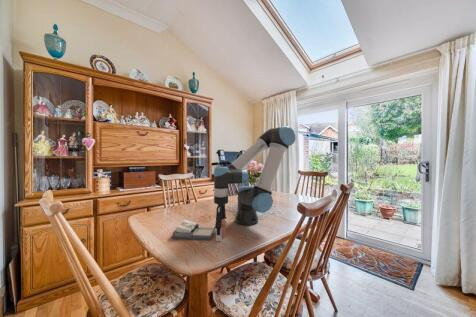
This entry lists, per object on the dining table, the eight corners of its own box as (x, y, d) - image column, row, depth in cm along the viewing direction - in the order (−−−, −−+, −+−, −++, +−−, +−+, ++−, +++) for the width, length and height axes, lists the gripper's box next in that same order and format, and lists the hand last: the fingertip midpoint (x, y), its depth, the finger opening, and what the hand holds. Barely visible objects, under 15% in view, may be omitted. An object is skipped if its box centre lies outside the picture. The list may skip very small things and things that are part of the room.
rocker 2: (195, 227, 115) (196, 223, 115) (193, 229, 112) (194, 224, 112) (183, 224, 115) (184, 219, 115) (181, 225, 112) (182, 221, 112)
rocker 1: (190, 232, 107) (191, 228, 107) (189, 235, 104) (190, 230, 104) (178, 229, 107) (179, 224, 107) (176, 231, 104) (177, 226, 104)
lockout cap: (226, 234, 110) (226, 221, 110) (224, 237, 105) (225, 224, 105) (217, 233, 110) (217, 220, 110) (215, 237, 105) (215, 224, 105)
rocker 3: (194, 227, 111) (193, 222, 111) (192, 229, 108) (191, 224, 108) (181, 229, 111) (181, 224, 111) (179, 231, 108) (179, 226, 108)
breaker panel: (215, 230, 115) (215, 224, 115) (210, 240, 102) (210, 234, 102) (181, 229, 116) (181, 223, 116) (172, 238, 103) (172, 232, 103)
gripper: (218, 191, 120) (217, 226, 120) (209, 200, 95) (208, 245, 96) (230, 191, 119) (230, 227, 120) (224, 201, 94) (224, 246, 95)
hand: (220, 235), depth 108 cm, fingers open, 12 cm apart
